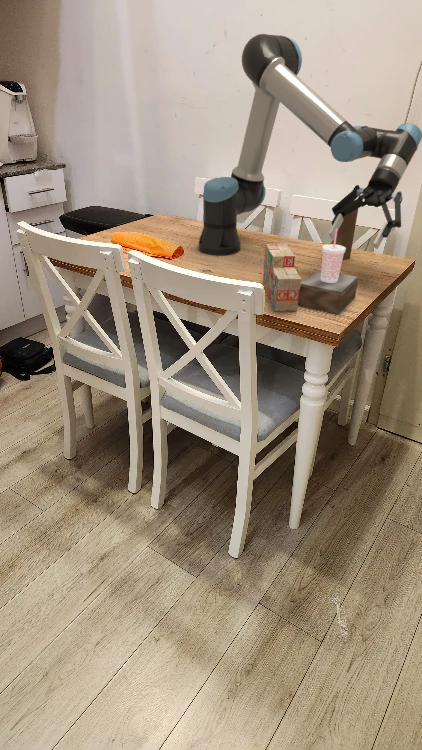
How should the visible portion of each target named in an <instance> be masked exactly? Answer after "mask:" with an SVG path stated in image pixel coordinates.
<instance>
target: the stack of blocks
mask: <svg viewBox="0 0 422 750" xmlns="http://www.w3.org/2000/svg"><path fill="white" fill-rule="evenodd" d="M295 259H296V257H295V254H294V253H293V252H292V250H291V249H290V247H289V245H288V244H287V243H286V242H285V243H283V242H282V243H281V242H280V243H278V242H277V243H265V245H264V260H263V274H262V275H263V276H262V277H263V278H262V283H264V284H263V286H265V287H264V289H265V292H266V294H267V296H268V298H269V299H270V304H271V306H272V309H273V310H275V311H274V312H287V311H286V310H292V311H291V312H297V311H298V306H299V305H298V299H299V290H300V285H301V283H302V277H301V276H300V275H299V273H298V271H297V270H296V268H295ZM279 310H280V311H279ZM284 310H285V311H284ZM293 310H295V311H293ZM296 310H297V311H296Z"/></svg>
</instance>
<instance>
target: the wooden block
mask: <svg viewBox="0 0 422 750" xmlns="http://www.w3.org/2000/svg"><path fill="white" fill-rule="evenodd" d="M358 214H359V208H358V209H356V210H354V211H353V212H351V213H349V214H347V215H346V216H344V217H343V219H344V220H343V222H342V224H341V226H340V227H339V229H338V231H337V237H336V243H335V244H336V245H341V246H344V247H345V248H346V250H345V252H344V255H343V259H342V261H344V260H350V259H351V256H352V255H351V253H352V249H353V243H354V237H355V232H356V231H355V230H356V224H357V219H358ZM334 238H335V237H334ZM329 244H334V239H332V240H331V242H329ZM322 255H323V253H322V254H321V256H322Z"/></svg>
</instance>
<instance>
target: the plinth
mask: <svg viewBox="0 0 422 750" xmlns="http://www.w3.org/2000/svg"><path fill="white" fill-rule="evenodd" d="M358 282H359V278H358V276H354V275H349V274H343V273H339V277H338V281H337V282H335V283H327V282H323V281H322V280H321V269H318V270H316V271H315V272H313V274H311V275H310V276H309V277H307V278H306V279H305V280H304V281H301V285H300V290H299V299H298V306H303V307H307V308H310V309H314V308H315V309H316V310H319V311H324V312H327V313H332V314H336V315H340V314H341V313H342V312H343V311H344V310H345V309H346V308H347V307H348V305H350V303H352V301H353V300H354V299H355V298H356V296H357V295H356V293H357V289H358Z"/></svg>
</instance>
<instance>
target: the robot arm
mask: <svg viewBox="0 0 422 750" xmlns="http://www.w3.org/2000/svg"><path fill="white" fill-rule="evenodd" d="M302 61H303V57H302V51H301V49H300V46H299V45H298V43H297V42H296V40H294V39H292V38H290V37H287V36H285V35H279V34H278V35H277V34H267V33H260V34H257V35H254V36H252V37H251V38H250V39H249V40H248V41H247V43H246V44H245V46H244V48H243V50H242V54H241V66H242V69H243V72H244V73H245V75H246V77H247V78H248V79H249V80H250V81H251V82H252V83H251V84H252V85H253V87H254V89H255V90H254V95H253V98H252V104H251V106H250V107H251V108H250V111H249V116H248V121H247V125H246V129H245V134H244V138H243V142H242V146H241V152H240V155H239V159H238V164H237V166H236V167H234V168H233V169H232V171H231V176H220V177H215V178H214V177H213V178H211V179H208V180H207V181H206V182H205V183H204V186H203V193H202V194H203V195H202V198H203V203H202V205H203V210H202V211H203V228H202V229H201V234H200V236H199V240H198V251H200V252H202V254H207V255H212V256H213V255H214V256H227V255H234V254H238V253H239V252H240V251H241V248H242V247H241V244H242V243H241V240H240V236H239V232H238V228H237V223H238V219H237V218H238V215H241V214H244V213H248V212H252V211H253V210H255V209H257V208H259V207H260V206H261V205H262V203H263V202H264V200H265V197H266V187H265V183H264V180H265V176H264V174H263V167H264V164H265V161H266V160H265V159H266V156H267V152H268V150H269V149H268V148H269V145H270V141H271V137H272V134H273V129H274V126H275V123H276V118H277V114H278V110H279V107H280V103H281V104H282V105H283V106H284V107H285V108H286V109H287V110H289V111H290V112H291V113H292V114H293V115H294V116H295V117H296V118H298V119H299V121H301V122H302V123H303V124H304V125H305V126H306V127H308V129H309V130H311V132H313V133H314V134H315V135H316V136H317V137H318V138H319V139H320V140H322V141H323V142H324V143H325V144H326V145H327V146H329V148H330V152H331V155H332V157H333V159H335V160H336V161H337V162H341V163H349V162H353V161H355V160H359V159H363V158H366V157H370V158H375V159H380V161H379V162H378V164H377V166H376V168H375V170H374V172H373V173H372V175H371V177H370V179H369V180H368V184H367V186H366V187H364V188H363V187H360V185H359V184H356V185H355V186H354V187H353V189H352V190H351V191H350V192H349V193H348V194H347V195H346V196H344V198H342V199H341V200H339V202H337V203H336V204H335V205H334V206H333V207H332V208H331V211H332V213H333V216H334V217H333V219H332V221H331V225H332V226H331V227H330V229H329V232H328V235H329V237H330V240H331V239H332V240H333V239H334V237H335V231H336V228H338V229H339V227H340V226H341V224H342V222H343V220H344V219H343V217H344V216H346V215H347V214H349V213H351V212H353V211H354V210H356V209H358V210H359V209H360V208H362V207H366V206H368V207H375V208H379V207H381V208H382V209H381V210H382V211H383V214H384V217H385V220H386V222H385V221H384V222H383V224H382V226H381V228H380V230H379V231H378V233H377V235H376V238H374V241H373V247H374V249H376V250H379V247H380V246H381V243H382V241H383V240H384V239H386V238H388V237H389V235H390V233H391V232H392V230H393V228H401V227H402V210H401V208H402V207H401V204H402V201H403V194H402V191H397V192H396V193H395V191H396V189H397V187H398V185H399V184H400V181H401V180H402V177H403V176H404V174H405V172H406V170H407V167H408V166H409V164H410V162H411V161H412V159H413V157H414V155H415V154H416V152H417V150H418V148H419V145H420V143H421V141H422V130H421V128H420V127H419V126H418V125H416V124H415V123H412V122H405V123H401V124H400V125H398V127H397V128H396V129H395V130H391V129H390V130H388V129H383V128H376V127H371V126H367V125H354V126H353V125H352V124H351V123H350V122H349V121H348V120H346V119H345V117H343V116H342V115H341V114H340V113H339V112H338V111H336V109H334V108H333V107H332V106H331V105H330V104H329V103H327V102H326V101H325V100H324V99H323V98H322V97H321V96H320V95H318V93H316V92H315V91H314V90H313V89H312V88H311V87H310V86H309V85H307V84H306V82H305V81H303V80H302V79H301V78H300V77H298V74H299V73H300V70H301V69H302ZM391 200H392V201H393V203H394V219H392V215H391V213H390V211H389V207H388V204H387V203H388V202H389V201H391ZM337 231H338V230H337Z"/></svg>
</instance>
